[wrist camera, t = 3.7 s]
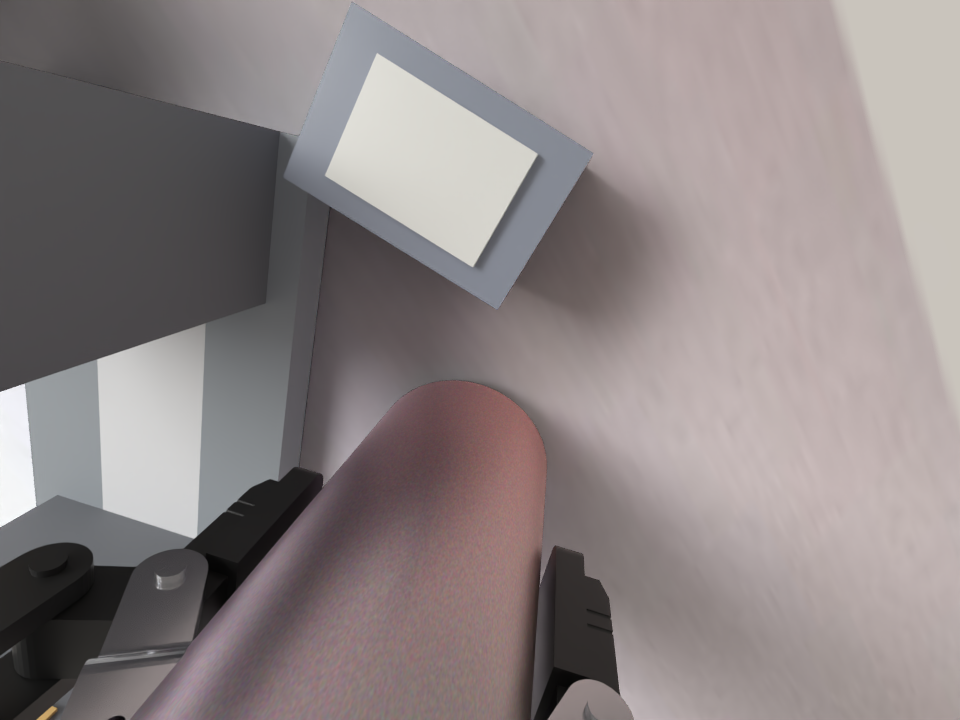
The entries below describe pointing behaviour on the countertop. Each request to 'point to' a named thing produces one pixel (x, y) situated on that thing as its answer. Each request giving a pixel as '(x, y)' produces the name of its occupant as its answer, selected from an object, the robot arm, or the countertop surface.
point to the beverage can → (390, 582)
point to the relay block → (432, 158)
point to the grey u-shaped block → (148, 313)
